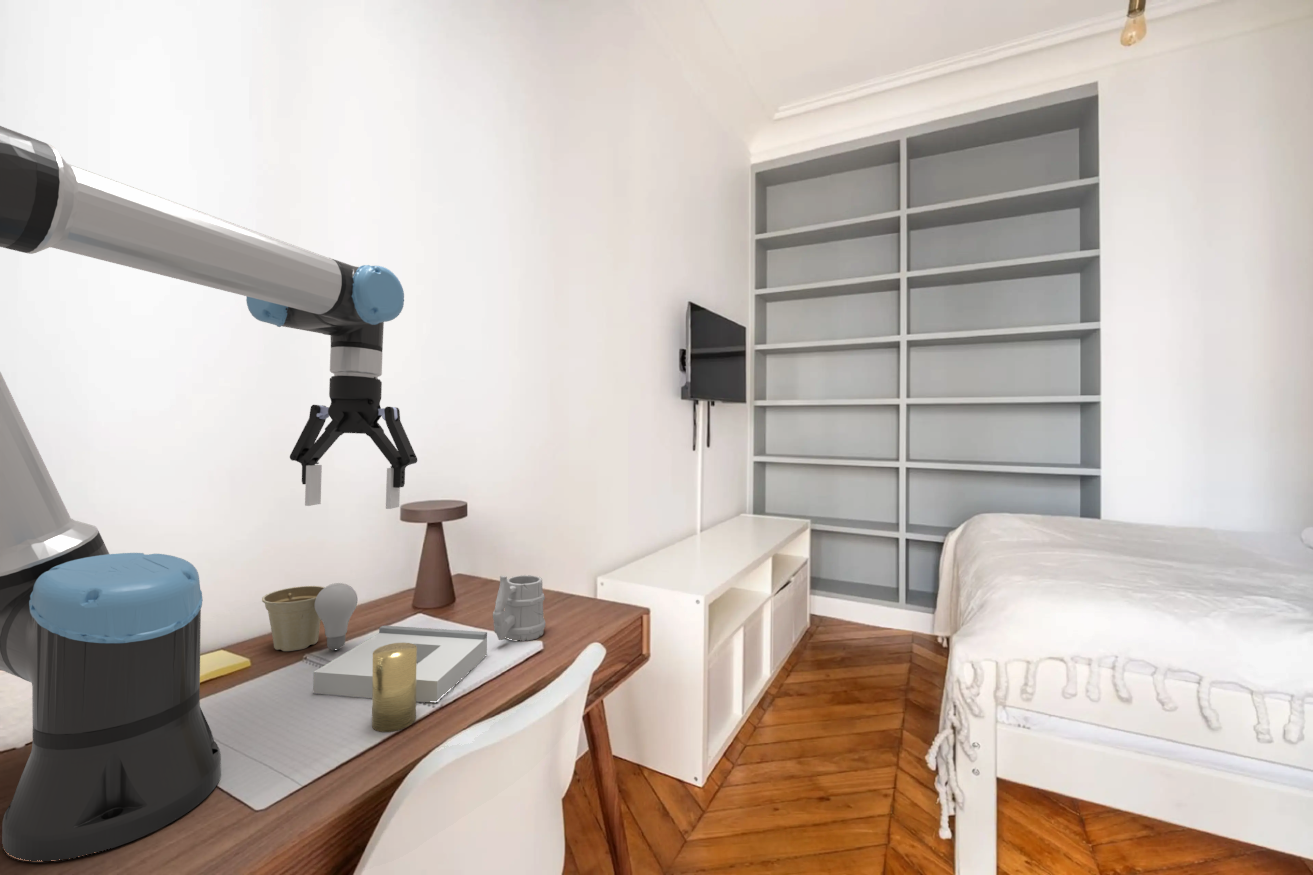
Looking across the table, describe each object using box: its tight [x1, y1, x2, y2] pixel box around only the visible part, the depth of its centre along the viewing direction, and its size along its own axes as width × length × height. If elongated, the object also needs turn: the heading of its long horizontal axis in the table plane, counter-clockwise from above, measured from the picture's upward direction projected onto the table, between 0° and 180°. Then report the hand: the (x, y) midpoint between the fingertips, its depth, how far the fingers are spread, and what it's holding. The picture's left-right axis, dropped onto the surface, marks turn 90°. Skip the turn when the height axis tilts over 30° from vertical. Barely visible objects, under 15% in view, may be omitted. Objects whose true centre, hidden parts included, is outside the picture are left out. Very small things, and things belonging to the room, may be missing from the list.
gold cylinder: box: [371, 643, 418, 733], centre depth 70 cm, size 5×5×9 cm
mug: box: [492, 574, 546, 642], centre depth 98 cm, size 8×12×12 cm, turn 158°
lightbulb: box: [315, 582, 358, 651], centre depth 91 cm, size 6×6×11 cm
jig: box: [312, 625, 488, 703], centre depth 84 cm, size 16×18×4 cm
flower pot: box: [261, 585, 326, 652], centre depth 93 cm, size 9×9×9 cm
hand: (352, 506), depth 91 cm, fingers open, 13 cm apart
